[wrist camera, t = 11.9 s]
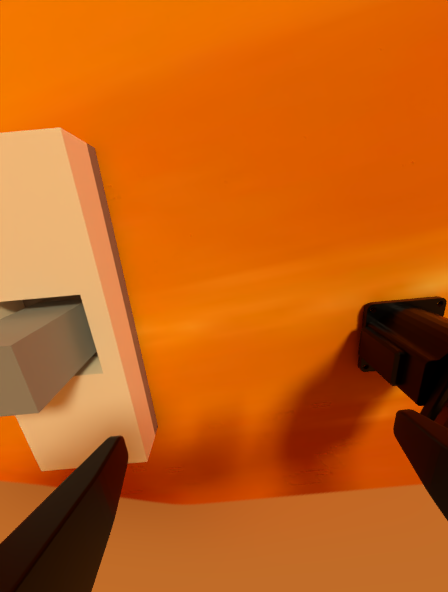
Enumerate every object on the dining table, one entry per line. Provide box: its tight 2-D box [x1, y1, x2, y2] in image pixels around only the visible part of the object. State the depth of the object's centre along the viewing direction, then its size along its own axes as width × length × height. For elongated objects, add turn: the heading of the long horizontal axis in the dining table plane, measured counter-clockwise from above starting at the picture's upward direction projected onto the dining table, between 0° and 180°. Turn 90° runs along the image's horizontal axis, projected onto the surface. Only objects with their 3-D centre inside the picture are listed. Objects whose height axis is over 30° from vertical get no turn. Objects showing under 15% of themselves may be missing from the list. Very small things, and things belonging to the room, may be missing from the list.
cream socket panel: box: [0, 128, 158, 471], centre depth 17 cm, size 9×24×4 cm, turn 5°
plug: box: [0, 299, 97, 416], centre depth 15 cm, size 4×4×7 cm
